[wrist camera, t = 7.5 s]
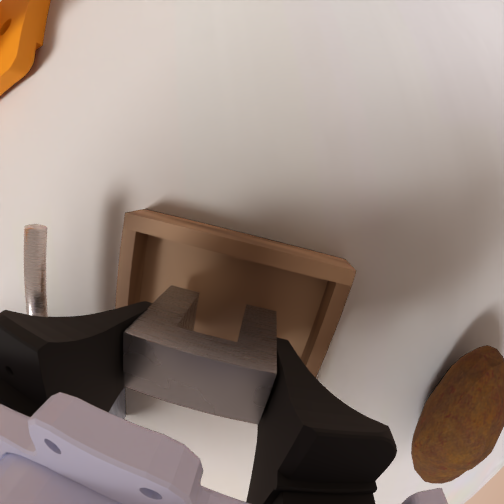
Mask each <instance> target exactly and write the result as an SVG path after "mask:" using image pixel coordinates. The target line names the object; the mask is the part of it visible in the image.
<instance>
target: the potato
mask: <svg viewBox="0 0 504 504" xmlns="http://www.w3.org/2000/svg"><path fill="white" fill-rule="evenodd" d="M503 427H504V358H503V356H502V355H501V354H500V353H499V351H498V350H497V349H495V348H493V347H491V346H488V345H487V346H483V347H479V348H477V349H475V350H473V351H471V352H469V353H467V354H466V355H464V356H462V357H461V358H460V359H459V360H458V361H457V362H456V363H455V364H454V365H453V366H451V368H450V369H449V370H448V372H447V373H446V374H445V376H444V377H443V378H442V380H441V381H440V383H439V384H438V385H437V387H436V388H435V390H434V391H433V392H432V394H431V395H430V397H429V398H428V400H427V401H426V403H425V406H424V408H423V411H422V413H421V416H420V418H419V421H418V423H417V426H416V429H415V432H414V435H413V441H412V451H411V454H412V459H413V464H414V469H415V471H416V472H417V473H418V474H419V475H420V476H421V478H422V479H423V480H424V481H425V482H429V483H445V482H449V481H452V480H454V479H455V478H457V477H459V476H460V475H462V474H463V473H464V472H466V471H468V470H470V469H472V468H474V467H475V466H476V465H478V464H479V463H480V462H481V461H483V460H484V459H485V458H486V457H487V456H488V455H489V454H490V453H491V452H492V450H493V448H494V446H495V444H496V442H497V440H498V438H499V436H500V433H501V431H502V429H503Z"/></svg>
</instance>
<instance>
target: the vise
mask: <svg viewBox="0 0 504 504" xmlns="http://www.w3.org/2000/svg"><path fill="white" fill-rule="evenodd" d="M46 244H47V227H46V226H43V225H38V224H32V225H27V226H25V228H24V281H25V297H26V309H27V315H34V316H44V317H48V313H47V295H46ZM109 413H110V414H113V415H115V416H117V417H120V418H122V419H124V418H125V416H126V406H125V387H124V389H123V390H122V391H121V393H120V394H119V396H118V397H117V399H116V400H115V402H114V404H113V406H112V407H111V409H110V411H109Z"/></svg>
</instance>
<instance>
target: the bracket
mask: <svg viewBox="0 0 504 504" xmlns="http://www.w3.org/2000/svg"><path fill="white" fill-rule="evenodd" d="M50 1H51V0H2V1H1V2H0V95H2V94H3V93H4V92H5V91H6V90H7V89H9V88H10V87H11V86H12V85H14V84H15V83H16V82H17V81H19V80H20V79H21V78H23V77H24V76H25V75H26V74H27V73H28V72H29V70H30V69H31V67H32V65H33V62H34V57H35V50H37V49H38V48H39V47H41V46H42V45H43V39H44V32H45V26H46V20H47V15H48V10H49V6H50Z"/></svg>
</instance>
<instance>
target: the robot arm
mask: <svg viewBox="0 0 504 504" xmlns="http://www.w3.org/2000/svg"><path fill="white" fill-rule="evenodd" d="M151 304H152V303H150V302H147V301H143V302H138V303H135V304H131V305H128V306H124V307H120V308H117V309H113V310H109V311H105V312H100V313H96V314H90V315H83V316H74V317H44V316H34V315H27V314H22V313H17V312H12V311H8V310H4V311H3V312H1V313H0V504H375V500H374V496H373V493H374V492H376V490H377V486H376V482H375V481H376V479H377V478H378V477H379V476H380V475H381V474H382V473H383V472H384V471H385V470H386V469H387V467H388V466H389V465H390V464H391V462H392V461H393V460H394V458H395V456H396V452H397V448H396V444H395V441H394V439H393V436H392V434H391V431H390V429H389V427H388V426H387V425H384V424H382V423H380V422H377V421H375V420H373V419H371V418H368V417H366V416H364V415H363V414H361V413H359V412H357V411H356V410H354V409H352V408H351V407H349V406H348V405H346V404H345V403H343V402H342V401H341V400H339V399H338V398H337V397H335V396H334V395H333V394H332V393H330V392H329V391H328V390H327V389H326V388H325V387H324V386H323V385H322V384H321V383H320V382H319V381H318V380H317V379H316V378H315V377H314V376H313V374H312V373H311V372H310V371H309V370H308V368H307V367H306V366H305V364H304V363H303V362H302V360H301V359H300V357H299V356H298V355H297V353H296V351H295V350H294V348H293V347H292V345H291V344H290V342H289V341H288V340H286V339H282V338H277V375H276V377H275V380H274V383H273V386H272V389H271V392H270V395H269V397H268V400H267V403H266V406H265V408H264V411H263V414H262V417H261V419H260V422H259V424H258V435H257V445H256V452H255V458H254V464H253V470H252V476H251V481H250V486H249V491H248V497H247V501H246V502H244V501H241V500H238V499H235V498H232V497H229V496H226V495H224V494H221V493H218V492H216V491H213V490H211V489H208V488H206V487H203V486H201V484H200V481H201V477H202V474H203V468H202V464H201V461H200V458H199V457H197V456H196V455H195V454H194V453H193V452H192V451H191V450H190V449H189V448H188V447H186V446H185V445H184V444H183V443H180V442H178V441H176V440H174V439H172V438H170V437H168V436H166V435H164V434H161V433H158V432H155V431H152V430H150V429H147V428H144V427H142V426H139V425H137V424H134V423H132V422H129V421H127V420H124V419H122V418H120V417H117V416H115V415H113V414H110V413H109V411H110V409H111V407H112V406H113V404H114V402H115V400H116V399H117V397H118V396H119V394H120V393H121V391H122V390H123V389H124V387H125V386H124V378H123V332H124V331H125V330H126V329H127V328H128V327H129V326H130V325H131V324H132V323H133V322H134V321H135V320H136V319H137V318H138V317H139V316H140V315H141V314H143V313H144V312H145V311H146V310H148V309H147V308H148V307H149V306H150V305H151ZM402 504H448V503H447V500H446V498H445V495H444V493H443V490H442V488H437V489H432V490H427V491H421V492H418V493H415V494H413V495H411V496H409V497H408V498H407V499H406V500H405V501H404V502H403V503H402Z"/></svg>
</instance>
